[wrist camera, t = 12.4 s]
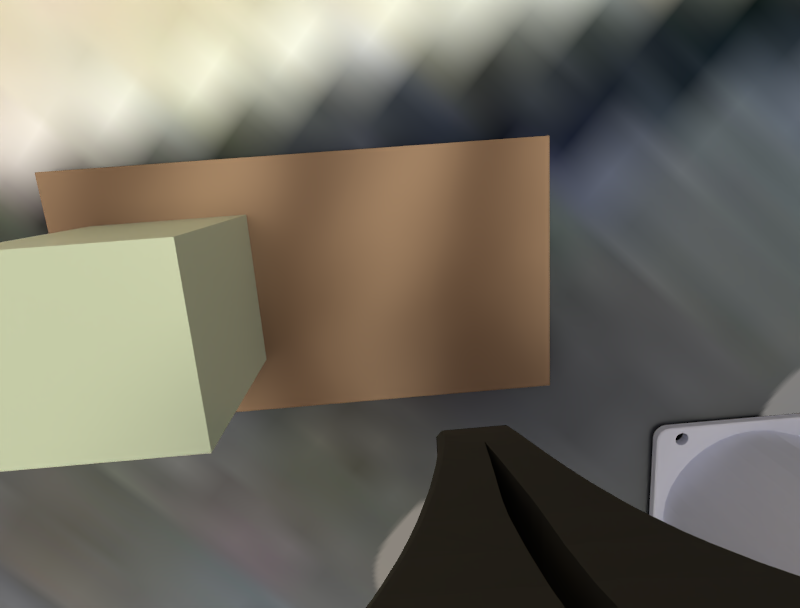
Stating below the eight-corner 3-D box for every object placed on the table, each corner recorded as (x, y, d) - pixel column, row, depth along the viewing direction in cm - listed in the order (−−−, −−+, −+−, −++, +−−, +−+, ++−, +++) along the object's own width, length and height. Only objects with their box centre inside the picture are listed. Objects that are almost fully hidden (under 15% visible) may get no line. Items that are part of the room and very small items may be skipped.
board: (540, 138, 19) (549, 135, 18) (541, 375, 21) (549, 385, 20) (52, 172, 18) (34, 172, 17) (106, 412, 20) (93, 424, 19)
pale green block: (246, 214, 18) (173, 236, 11) (266, 359, 19) (211, 453, 13) (90, 226, 18) (-72, 255, 11) (121, 371, 19) (-9, 472, 12)
